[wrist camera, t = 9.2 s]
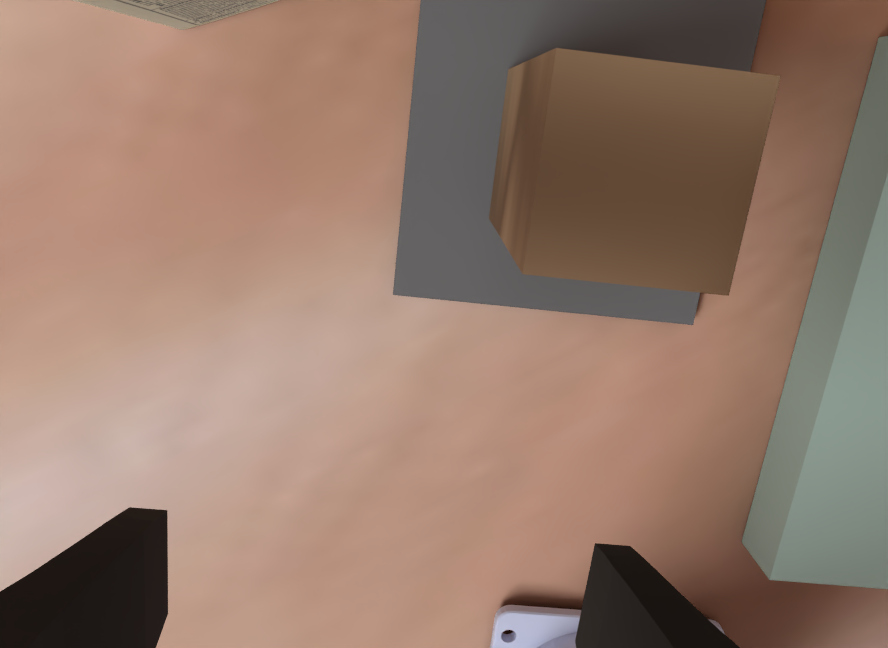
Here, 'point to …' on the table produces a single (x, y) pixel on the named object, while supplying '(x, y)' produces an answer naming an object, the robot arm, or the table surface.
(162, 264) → the table surface
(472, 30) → the rubber mat
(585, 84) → the walnut block
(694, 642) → the robot arm
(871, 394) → the pocket board
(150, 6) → the skincare box
